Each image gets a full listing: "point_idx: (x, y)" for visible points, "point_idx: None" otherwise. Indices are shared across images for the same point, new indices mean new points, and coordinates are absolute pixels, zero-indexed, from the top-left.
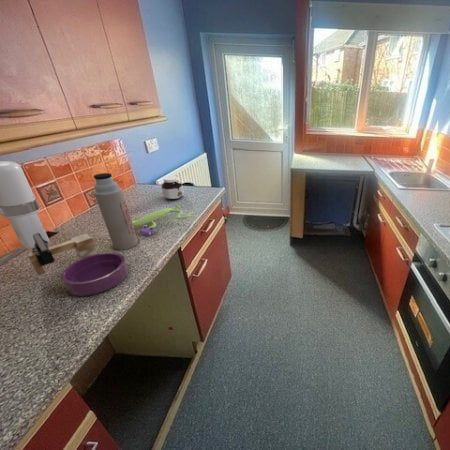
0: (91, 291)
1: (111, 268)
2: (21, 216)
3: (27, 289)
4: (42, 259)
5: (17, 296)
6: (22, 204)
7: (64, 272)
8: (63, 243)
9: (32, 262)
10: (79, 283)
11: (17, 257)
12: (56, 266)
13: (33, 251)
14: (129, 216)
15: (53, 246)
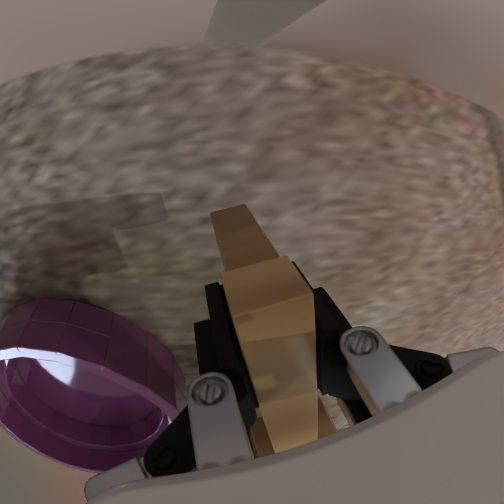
0: None
1: (134, 412)
2: None
3: (177, 132)
4: (204, 342)
5: (136, 94)
6: None
7: (69, 362)
8: (301, 444)
9: (228, 270)
10: None
11: (484, 140)
12: (324, 252)
13: (331, 334)
14: None
15: (305, 418)
